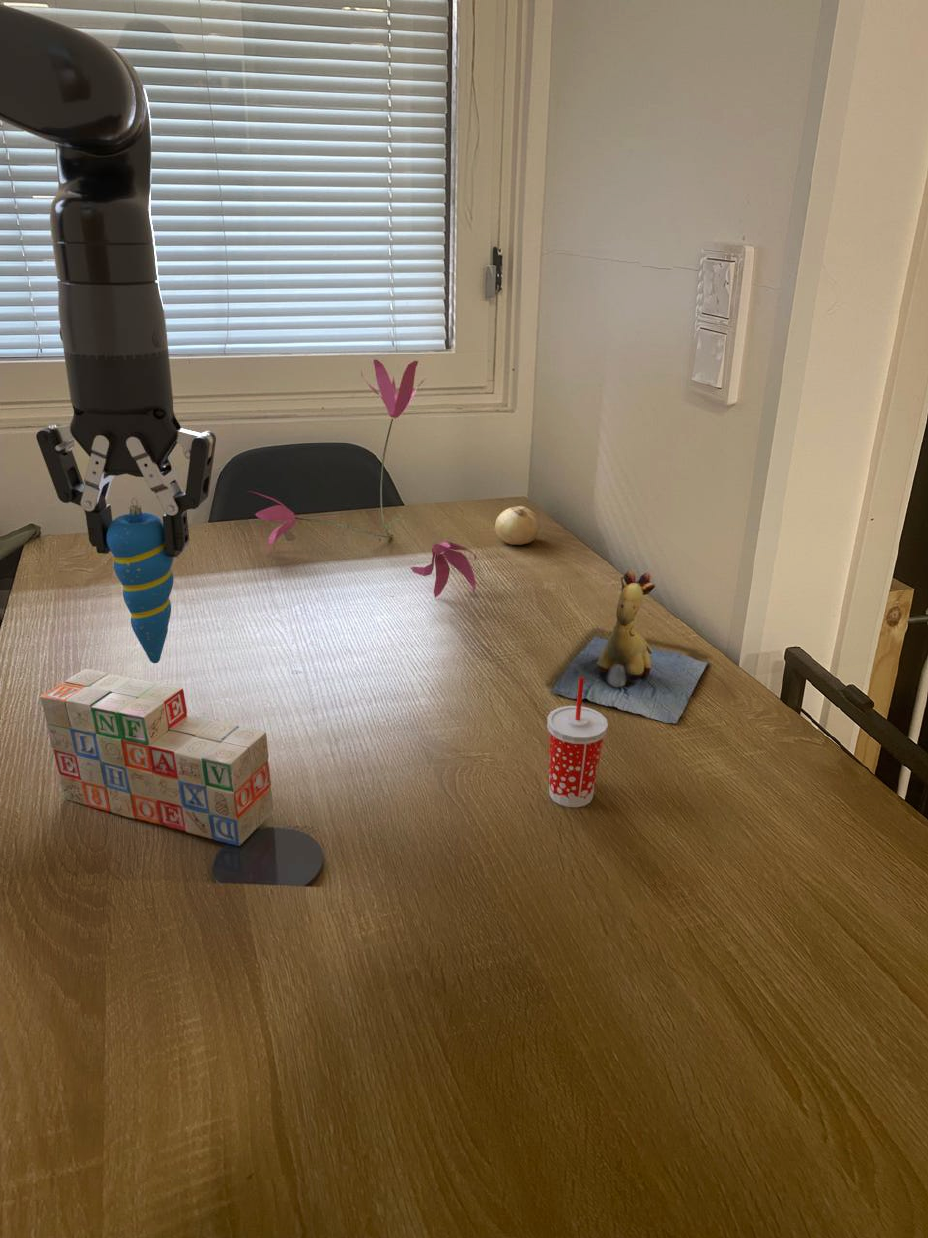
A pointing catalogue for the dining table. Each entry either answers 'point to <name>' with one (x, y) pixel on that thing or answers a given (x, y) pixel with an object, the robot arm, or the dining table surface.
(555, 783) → the beverage cup
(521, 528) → the onion
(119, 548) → the ornament
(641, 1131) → the dining table surface
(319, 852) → the slate coaster
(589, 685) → the stuffed giraffe
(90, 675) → the stack of blocks
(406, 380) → the decorative plant
